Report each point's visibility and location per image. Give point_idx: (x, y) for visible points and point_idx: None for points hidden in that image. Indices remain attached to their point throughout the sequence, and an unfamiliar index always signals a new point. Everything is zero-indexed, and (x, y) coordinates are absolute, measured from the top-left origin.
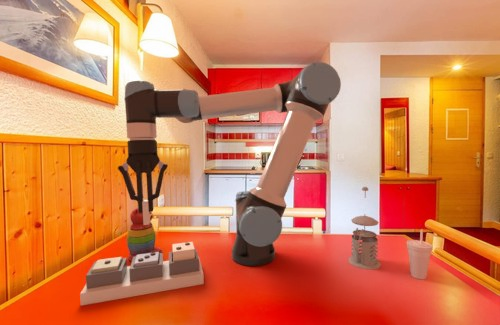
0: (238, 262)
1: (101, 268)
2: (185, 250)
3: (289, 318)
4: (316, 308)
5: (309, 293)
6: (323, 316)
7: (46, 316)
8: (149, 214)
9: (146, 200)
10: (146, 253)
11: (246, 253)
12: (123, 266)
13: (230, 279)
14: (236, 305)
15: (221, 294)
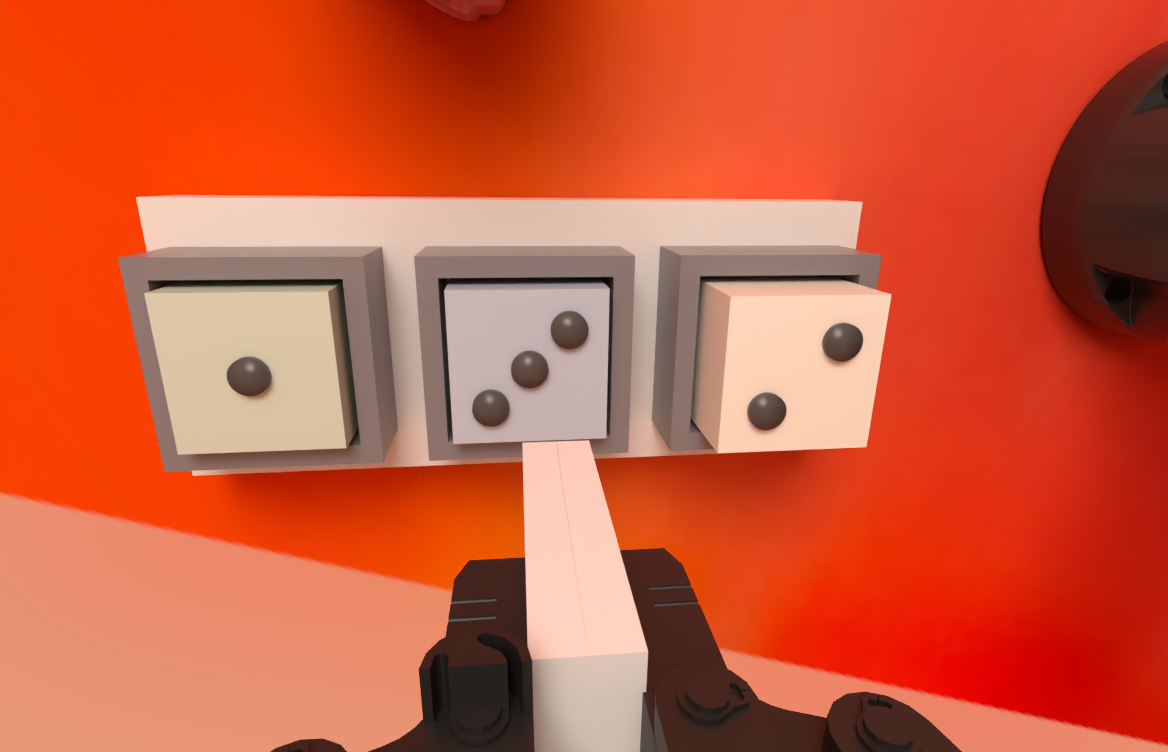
0: (1050, 268)
1: (241, 450)
2: (803, 449)
3: (990, 699)
4: (1094, 677)
5: (1140, 603)
6: (1082, 710)
7: (94, 489)
8: (601, 492)
9: (605, 726)
10: (517, 290)
11: (1146, 289)
12: (377, 399)
13: (929, 422)
14: (871, 606)
15: (846, 527)
